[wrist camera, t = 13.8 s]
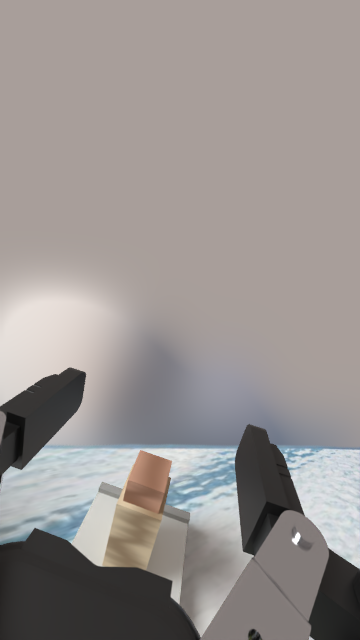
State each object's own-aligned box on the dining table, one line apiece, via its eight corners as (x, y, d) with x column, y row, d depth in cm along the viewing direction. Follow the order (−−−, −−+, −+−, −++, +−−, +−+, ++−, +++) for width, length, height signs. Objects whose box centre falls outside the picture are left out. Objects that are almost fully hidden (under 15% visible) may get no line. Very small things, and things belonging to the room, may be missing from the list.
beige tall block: (102, 565, 27) (121, 482, 24) (119, 520, 32) (137, 445, 28) (142, 581, 27) (168, 499, 23) (154, 533, 31) (176, 459, 28)
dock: (44, 608, 25) (47, 586, 24) (98, 499, 36) (102, 481, 35) (168, 660, 24) (176, 639, 23) (183, 530, 35) (190, 513, 34)
